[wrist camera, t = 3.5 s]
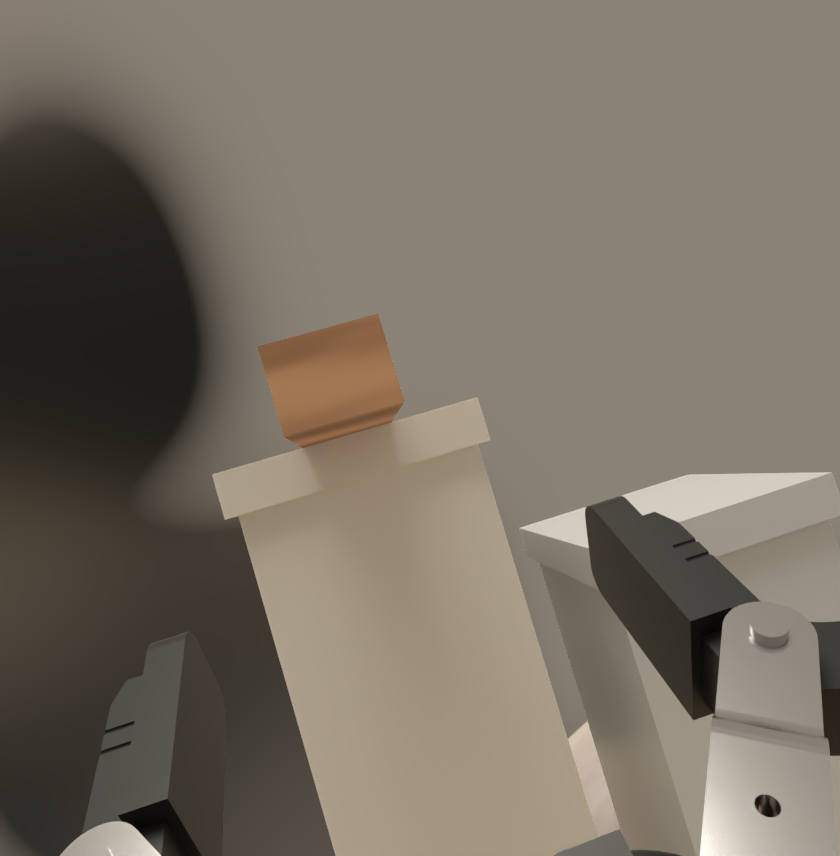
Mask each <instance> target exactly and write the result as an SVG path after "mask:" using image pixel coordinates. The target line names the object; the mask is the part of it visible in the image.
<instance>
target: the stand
mask: <svg viewBox="0 0 840 856" xmlns="http://www.w3.org/2000/svg"><path fill="white" fill-rule="evenodd" d="M489 440H490V436H489V433H488V430H487V427H486V423H485V420H484V417H483V413H482V410H481V407H480V404H479V400H478V398H477V397H476V398H473V399H469V400H466V401H462V402H459V403H456V404H452V405H449V406H445V407H442V408H438V409H435V410H432V411H429V412H425V413H421V414H418V415H415V416H411V417H408V418H404V419H401V420H397V421H394V422H390V423H387V424H384V425H380V426H377V427H373V428H370V429H367V430H363V431H360V432H356V433H353V434H349V435H346V436H343V437H339V438H336V439H332V440H329V441H325V442H322V443H319V444H315V445H312V446H308V447H305V448H301V449H298V450H295V451H291V452H288V453H284V454H281V455H278V456H274V457H271V458H267V459H264V460H261V461H257V462H254V463H250V464H247V465H243V466H240V467H236V468H233V469H230V470H227V471H223V472H220V473H216V474H213V475H212V476H213V480H214V483H215V487H216V490H217V494H218V497H219V501H220V504H221V508H222V511H223V515H224V519H225V520H226V519H229V518H232V517H236V516H239V519H240V523H241V527H242V530H243V534H244V537H245V541H246V544H247V548H248V551H249V554H250V558H251V562H252V565H253V568H254V572H255V576H256V579H257V583H258V586H259V589H260V593H261V597H262V600H263V604H264V607H265V610H266V614H267V617H268V621H269V624H270V628H271V632H272V635H273V638H274V642H275V645H276V649H277V652H278V656H279V659H280V663H281V666H282V670H283V673H284V677H285V680H286V684H287V687H288V691H289V694H290V698H291V701H292V705H293V708H294V711H295V715H296V719H297V722H298V726H299V729H300V733H301V736H302V740H303V743H304V747H305V750H306V754H307V757H308V761H309V764H310V768H311V771H312V775H313V778H314V782H315V785H316V789H317V792H318V796H319V799H320V803H321V806H322V810H323V813H324V817H325V820H326V824H327V827H328V831H329V834H330V838H331V841H332V845H333V848H334V852H335V855H336V856H554V855H556V854H557V853H558V852H561V851H564V850H566V849H569V848H572V847H574V846H577V845H580V844H582V843H585V842H588V841H590V840H593V839H596V838H598V837H597V834H596V831H595V827H594V824H593V821H592V817H591V814H590V811H589V808H588V804H587V801H586V798H585V794H584V791H583V788H582V785H581V781H580V778H579V775H578V771H577V768H576V765H575V762H574V758H573V755H572V752H571V748H570V745H569V742H568V738H567V735H566V732H565V729H564V726H563V722H562V719H561V716H560V712H559V709H558V706H557V703H556V699H555V696H554V692H553V689H552V686H551V683H550V679H549V676H548V673H547V669H546V666H545V663H544V660H543V656H542V653H541V650H540V646H539V643H538V640H537V636H536V633H535V630H534V627H533V623H532V620H531V617H530V613H529V610H528V607H527V603H526V601H525V597H524V594H523V590H522V587H521V584H520V580H519V577H518V574H517V571H516V567H515V564H514V561H513V558H512V554H511V551H510V548H509V544H508V541H507V538H506V534H505V531H504V528H503V524H502V521H501V518H500V515H499V512H498V508H497V505H496V502H495V498H494V495H493V492H492V489H491V485H490V482H489V478H488V475H487V472H486V468H485V465H484V462H483V459H482V455H481V452H480V449H479V445H478V444H479V443H482V442H486V441H489Z"/></svg>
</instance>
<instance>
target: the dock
mask: <svg viewBox="0 0 840 856" xmlns="http://www.w3.org/2000/svg"><path fill="white" fill-rule="evenodd" d="M622 496H623V497H625V498H626V499H627V500H628V501H629V502H630V503H631V504H632V505H633V506H634V507H635V508H636V509H637V510H638V511H639V512H640V513H641V515H642V516H643V515H646V514H649V513H652V512H657V513H659V514H661V515H663V516H665V517H668V518H670V519H672V520H674V521H677V522H679V523H680V524H681V525H682V526H683V527H684V528H685V529H686V530H687V531H688V532H689V533H690V534H691V535H692V536H693V537H694V538H695V540H696V542H699V543H701V544H702V545H703V546H704V547H705V548H706V549H707V550H708V552H709V554H710V555H711V554H712V555H713V556H714V557H715V558H716V559H717V560H718V561H719V562H720V563H721V564H722V565H723V566H724V567H725V568H727V569H728V570H729V571H730V572H731V573H732V574H733V575H734V576H735V577H736V578H737V579H738V580H739V581H740V582H741V583H742V584H743V585H744V586H745V587H746V588H747V589H748V590H749V591H750V592H752V593H753V594H754V595H755V596H756V597H757V598H758V599H759V600H760V601H761V602H771V603H777V604H781V605H784V606H787V607H789V608H792V609H794V610H795V611H797V612H799V613H800V614H802V615H803V616H805V617H806V618H807V619H808V620H809V621H810V622H835V621H840V549H839V546H838V543H837V540H836V536H835V533H834V530H833V527H832V524H831V521H830V519H831V518H834V517H837V516H840V494H839V491H838V488H837V485H836V482H835V479H834V476H833V473H832V472H825V473H824V472H821V473H761V474H760V473H758V474H696V475H685V476H682V477H679V478H676V479H673V480H670V481H666V482H663V483H660V484H657V485H654V486H651V487H647V488H645V489H641V490H638V491H635V492H632V493H629V494H625V495H622ZM609 500H610V499H609ZM585 509H586V507H584V508H581V509H578V510H575V511H572V512H569V513H565V514H562V515H559V516H556V517H553V518H550V519H547V520H543V521H540V522H538V523H534V524H531V525H527V526H524V527H521V528H519V529H520V533H521V536H522V539H523V542H524V545H525V549H526V552H527V555H528V558H530V559H532V560H534V561H536V562H538V563H540V566H541V569H542V572H543V576H544V579H545V582H546V586H547V589H548V592H549V596H550V599H551V602H552V606H553V609H554V612H555V615H556V618H557V622H558V625H559V628H560V632H561V635H562V638H563V642H564V645H565V648H566V651H567V655H568V658H569V661H570V664H571V668H572V671H573V674H574V678H575V680H576V684H577V687H578V691H579V694H580V697H581V700H582V704H583V707H584V710H585V714H586V717H587V720H588V723H589V727H590V730H591V733H592V736H593V740H594V743H595V746H596V750H597V753H598V756H599V759H600V763H601V766H602V769H603V773H604V776H605V779H606V782H607V786H608V789H609V792H610V795H611V799H612V802H613V805H614V809H615V812H616V815H617V818H618V822H619V825H620V828H621V831H622V835H623V837H624V839H625V841H626V843H627V845H628V847H629V849H630V850H654V851H662V852H668V853H673V854H677V855H681V856H700V847H701V836H702V824H703V813H704V802H705V790H706V779H707V768H708V756H709V745H710V733H711V723H712V717H713V715H714V714H710V715H707V716H705V717H702V718H699V719H696V720H693V719H692V718H691V717H690V715H689V714H688V712H687V711H686V710H685V708H684V707H683V706H682V704H681V703H680V702H679V700H678V699H677V697H676V696H675V695H674V693H673V692H672V691H671V689H670V688H669V686H668V685H667V684H666V682H665V681H664V680H663V678H662V677H661V675H660V674H659V673H658V671H657V670H656V669H655V667H654V666H653V665H652V663H651V662H650V660H649V659H648V658H647V656H646V655H645V654H644V652H643V651H642V649H641V648H640V647H639V645H638V644H637V643H636V641H635V640H634V638H633V637H632V636H631V634H630V633H629V632H628V630H627V629H626V627H625V626H624V625H623V623H622V622H621V621H620V619H619V618H618V617H617V615H616V614H615V612H614V611H613V610H612V608H611V607H610V606H609V604H608V603H607V601H606V600H605V599H604V597H603V596H602V594H601V593H600V591H599V589H598V587H597V585H596V582H595V580H594V577H593V573H592V569H591V563H590V555H589V546H588V537H587V529H586V520H585ZM830 761H831V776H832V790H833V805H834V819H835V834H836V848H837V856H840V756H830Z"/></svg>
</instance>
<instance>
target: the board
mask: <svg viewBox="0 0 840 856" xmlns="http://www.w3.org/2000/svg"><path fill="white" fill-rule="evenodd" d="M258 349H259V353H260V356H261V360H262V363H263V366H264V370H265V373H266V377H267V380H268V383H269V387H270V390H271V394H272V397H273V400H274V404H275V408H276V411H277V415H278V418H279V421H280V425H281V428H282V432H283V435H284V437H285V438H287V439H289V440H290V441H292V442H294V443H295V444H297V445H299V446H300V447H302V448H305V447H308V446H312V445H315V444H319V443H322V442H325V441H329V440H332V439H336V438H339V437H343V436H346V435H349V434H353V433H356V432H360V431H363V430H367V429H370V428H373V427H377V426H380V425H384V424H387V423H390V422H392V420H393V419H394V417H395V415H396V414H397V412H398V411H399V409H400V408H401V406H402V405H403V403H404V399H403V396H402V393H401V389H400V386H399V383H398V379H397V376H396V372H395V369H394V366H393V362H392V359H391V356H390V352H389V349H388V346H387V342H386V339H385V336H384V332H383V329H382V326H381V322H380V319H379V316H378V314H376V315H372V316H368V317H365V318H361V319H357V320H353V321H350V322H346V323H343V324H339V325H336V326H332V327H328V328H324V329H320V330H317V331H313V332H310V333H306V334H303V335H299V336H295V337H291V338H288V339H284V340H280V341H277V342H273V343H270V344H266V345H262V346H258Z"/></svg>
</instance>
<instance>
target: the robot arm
mask: <svg viewBox="0 0 840 856" xmlns="http://www.w3.org/2000/svg"><path fill="white" fill-rule="evenodd" d="M585 520H586V529H587V537H588V546H589V555H590V563H591V569H592V573H593V577H594V580H595V582H596V585H597V587H598V589H599V591H600V593H601V594H602V596H603V597H604V599H605V600H606V601H607V603H608V604H609V606H610V607H611V608H612V610H613V611H614V612H615V614H616V615H617V617H618V618H619V619H620V621H621V622H622V623H623V625H624V626H625V627H626V629H627V630H628V632H629V633H630V634H631V636H632V637H633V638H634V640H635V641H636V643H637V644H638V645H639V647H640V648H641V649H642V651H643V652H644V654H645V655H646V656H647V658H648V659H649V660H650V662H651V663H652V665H653V666H654V667H655V669H656V670H657V671H658V673H659V674H660V675H661V677H662V678H663V680H664V681H665V682H666V684H667V685H668V686H669V688H670V689H671V691H672V692H673V693H674V695H675V696H676V697H677V699H678V700H679V702H680V703H681V704H682V706H683V707H684V708H685V710H686V711H687V712H688V714H689V715H690V717H691V718H692V719H693V720H696V719H699V718H702V717H705V716H707V715H710V714H714V715H713V717H712V723H711V733H710V745H709V756H708V768H707V779H706V790H705V802H704V813H703V824H702V836H701V847H700V856H837V848H836V834H835V819H834V805H833V790H832V776H831V761H830V756H840V621H835V622H810V621H809V620H808V619H807V618H806V617H805V616H803V615H802V614H800V613H799V612H797V611H795V610H794V609H792V608H789V607H787V606H784V605H781V604H777V603H771V602H761V601H760V600H759V599H758V598H757V597H756V596H755V595H754V594H753V593H752V592H750V591H749V590H748V589H747V588H746V587H745V586H744V585H743V584H742V583H741V582H740V581H739V580H738V579H737V578H736V577H735V576H734V575H733V574H732V573H731V572H730V571H729V570H728V569H727V568H725V567H724V566H723V565H722V564H721V563H720V562H719V561H718V560H717V559H716V558H715V557H714V556H713V555H712V554H711V555H710V554H709V552H708V550H707V549H706V548H705V547H704V546H703V545H702V544H701V543H699V542H696V540H695V538H694V537H693V536H692V535H691V534H690V533H689V532H688V531H687V530H686V529H685V528H684V527H683V526H682V525H681V524H680V523H679V522H677V521H674V520H672V519H670V518H668V517H665V516H663V515H661V514H659V513H657V512H652V513H649V514H646V515H643V516H642V515H641V513H640V512H639V511H638V510H637V509H636V508H635V507H634V506H633V505H632V504H631V503H630V502H629V501H628V500H627V499H626V498H625V497H623V496H619V497H616V498H613V499H610V500H606V501H603V502H600V503H597V504H594V505H591V506H587V507H586V509H585ZM105 731H106V735H104V738H103V743H102V747H101V753H102V755H101V756H100V757H99V761H98V766H97V770H96V774H95V779H94V783H93V788H92V792H91V797H90V801H89V806H88V811H87V815H86V819H85V824H84V828H83V833H82V835H81V836H79V837H78V838H77V839H76V840H75V841H73V842H72V843H71V844H70V845H69V846H68V847H67V848H66V849H65V851H64V852H63V853H62V854H61V855H60V856H222V841H223V809H224V775H225V741H226V712H225V705H224V701H223V697H222V693H221V690H220V688H219V685H218V683H217V681H216V679H215V677H214V675H213V673H212V671H211V669H210V667H209V665H208V663H207V660H206V658H205V656H204V654H203V652H202V650H201V648H200V646H199V644H198V642H197V640H196V638H195V636H194V635H193V634H192V633H191V632H186V633H183V634H180V635H177V636H174V637H170V638H168V639H164V640H161V641H158V642H154V643H151V644H150V645H149V647H148V650H147V655H146V660H145V666H144V671H143V675H141V676H139V677H135V678H132V679H129V680H127V681H126V683H125V684H124V686H123V687H122V689H121V690H120V692H119V693H118V695H117V696H116V698H115V700H114V701H113V703H112V705H111V707H110V711H109V716H108V720H107V725H106V730H105ZM554 856H681V855H677V854H673V853H668V852H662V851H654V850H630V849H629V847H628V845H627V843H626V841H625V839H624V837H623V835H622V833H621V831H620V830H617V831H614V832H612V833H609V834H606V835H604V836H601V837H598V838H596V839H593V840H590V841H588V842H585V843H582V844H580V845H577V846H574V847H572V848H569V849H566V850H564V851H561V852H558V853H557V854H556V855H554Z"/></svg>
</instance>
